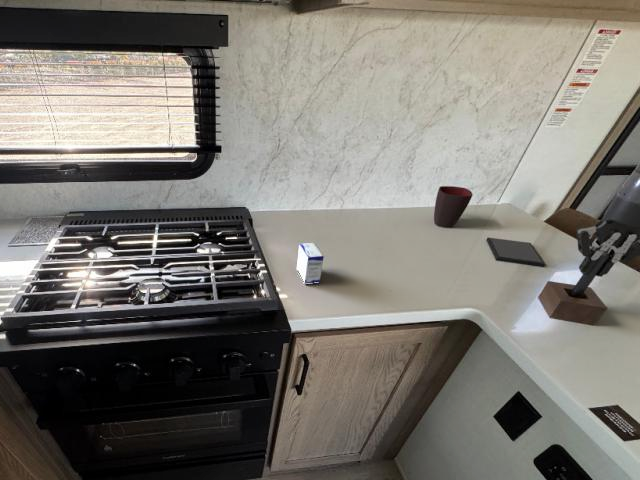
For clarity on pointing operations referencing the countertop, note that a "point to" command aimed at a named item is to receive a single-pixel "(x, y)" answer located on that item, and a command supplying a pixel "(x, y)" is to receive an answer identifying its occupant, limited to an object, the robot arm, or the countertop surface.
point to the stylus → (588, 277)
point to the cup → (450, 205)
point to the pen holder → (571, 304)
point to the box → (309, 262)
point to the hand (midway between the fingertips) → (590, 273)
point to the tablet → (515, 252)
